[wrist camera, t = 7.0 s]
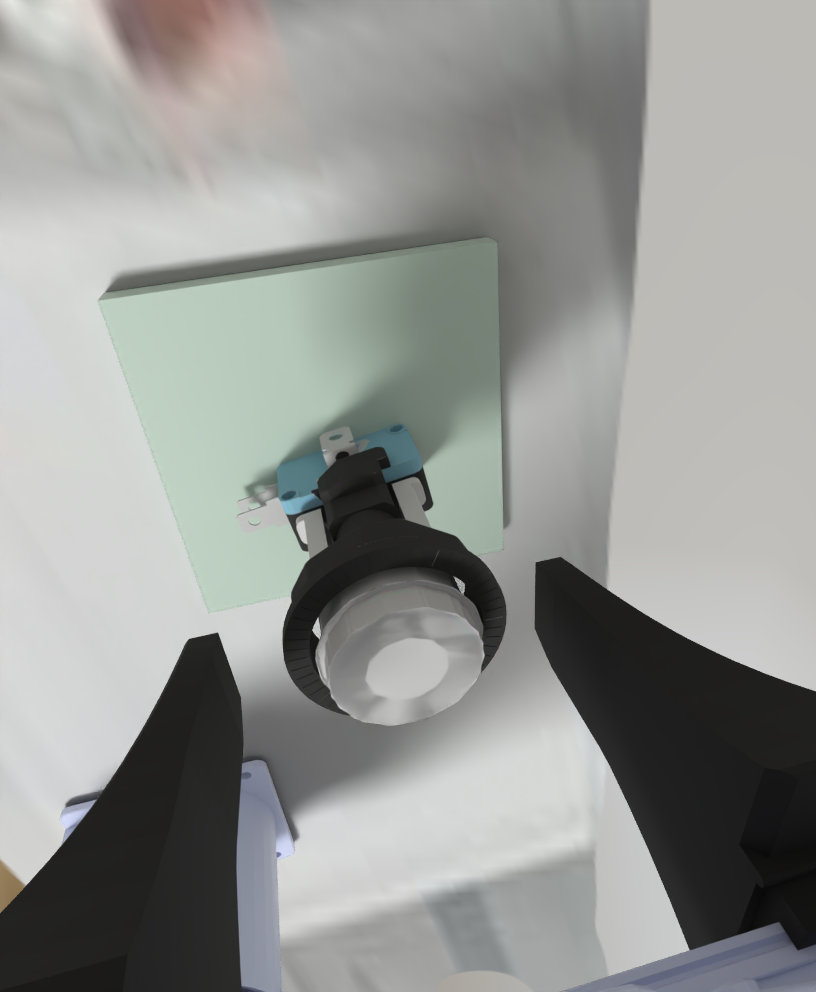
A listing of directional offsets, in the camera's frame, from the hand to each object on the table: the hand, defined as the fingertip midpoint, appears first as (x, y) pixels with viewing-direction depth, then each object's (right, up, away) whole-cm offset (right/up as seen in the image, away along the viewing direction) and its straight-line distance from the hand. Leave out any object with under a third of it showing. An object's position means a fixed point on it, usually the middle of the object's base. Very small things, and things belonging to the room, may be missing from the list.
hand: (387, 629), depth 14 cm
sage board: (-2, +5, +9) cm, 10 cm away
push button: (-2, +4, +8) cm, 10 cm away
